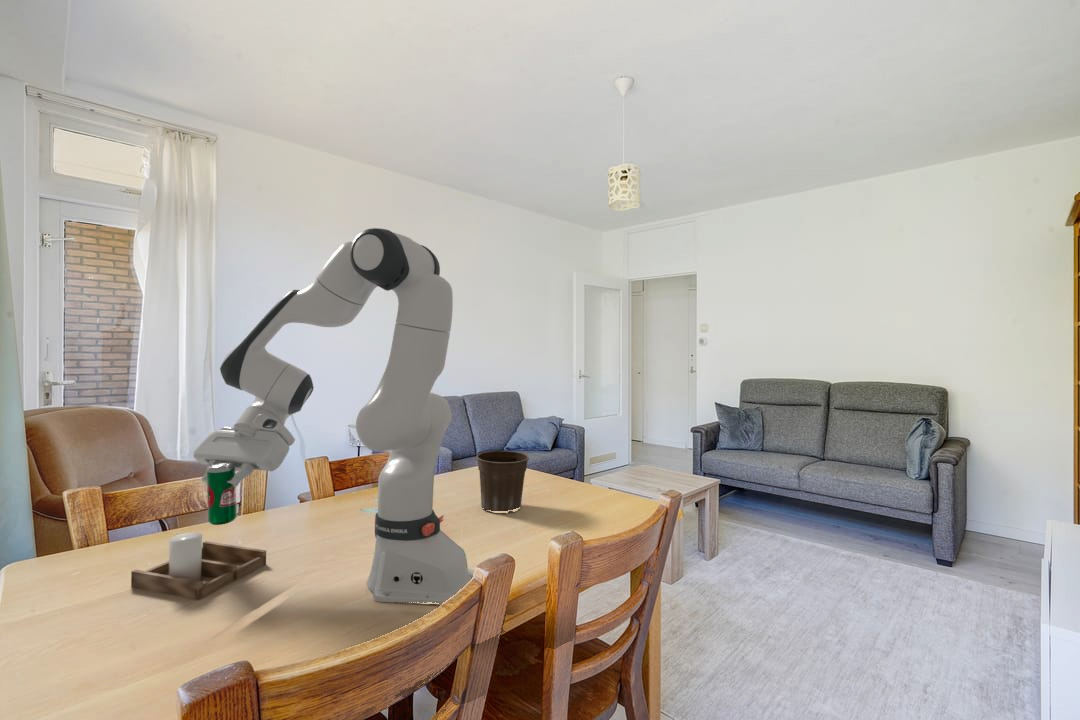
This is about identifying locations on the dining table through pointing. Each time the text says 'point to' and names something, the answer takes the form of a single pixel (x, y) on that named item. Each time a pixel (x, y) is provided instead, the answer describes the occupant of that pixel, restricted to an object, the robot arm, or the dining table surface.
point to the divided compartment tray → (203, 571)
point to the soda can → (221, 494)
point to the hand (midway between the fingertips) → (218, 483)
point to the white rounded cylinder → (186, 556)
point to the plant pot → (501, 479)
